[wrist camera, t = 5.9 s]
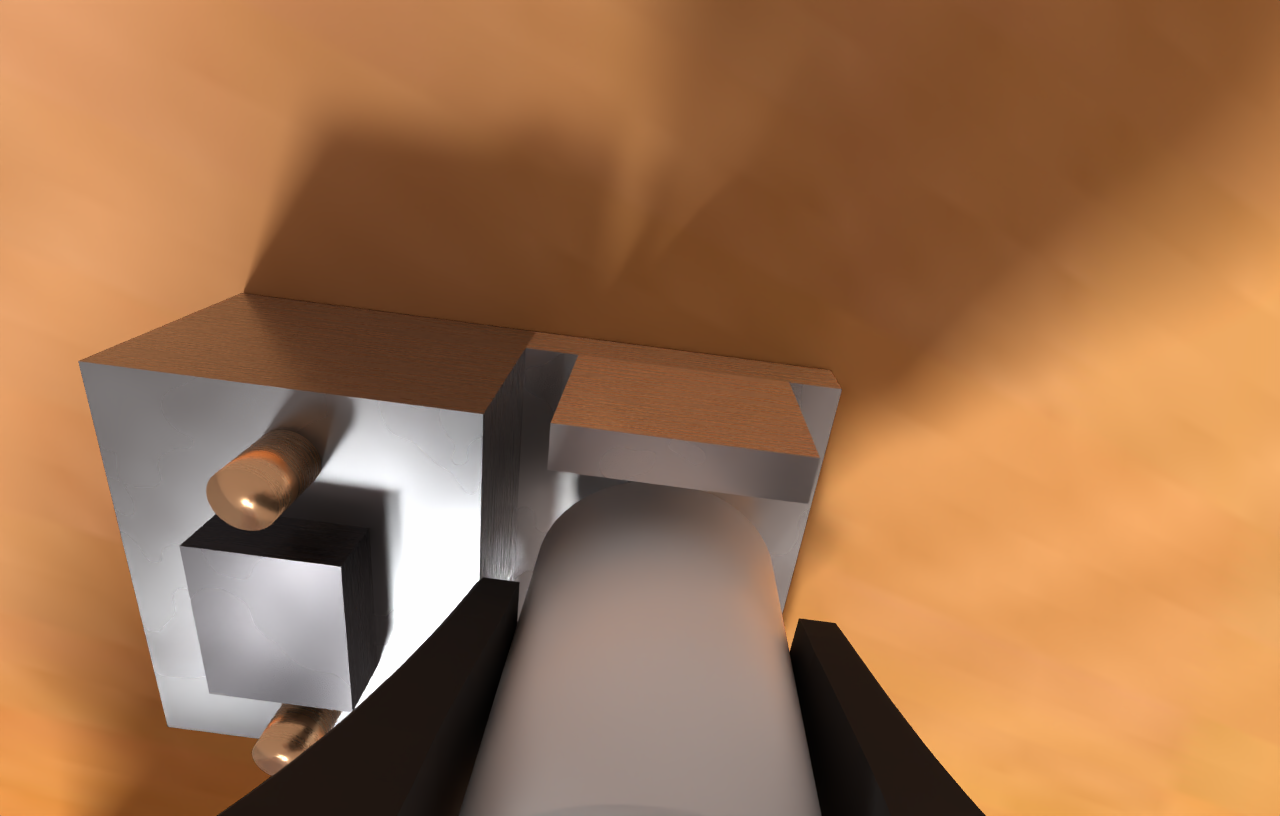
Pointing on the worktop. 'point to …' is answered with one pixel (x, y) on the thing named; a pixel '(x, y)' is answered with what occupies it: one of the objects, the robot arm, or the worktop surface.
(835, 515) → the worktop surface
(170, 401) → the grey tray
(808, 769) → the white cylinder
